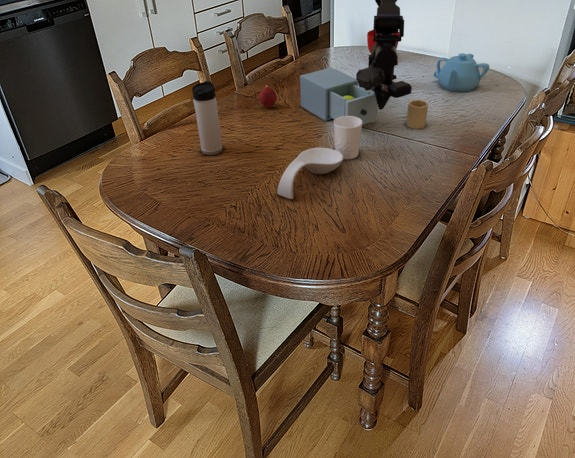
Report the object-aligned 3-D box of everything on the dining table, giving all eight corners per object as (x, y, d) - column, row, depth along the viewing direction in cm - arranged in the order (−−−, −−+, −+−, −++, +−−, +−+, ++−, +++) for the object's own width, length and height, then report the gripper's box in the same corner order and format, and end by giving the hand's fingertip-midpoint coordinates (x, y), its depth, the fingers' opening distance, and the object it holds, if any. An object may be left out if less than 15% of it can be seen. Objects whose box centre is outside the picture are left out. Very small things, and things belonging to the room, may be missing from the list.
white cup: (364, 150, 145) (366, 118, 139) (355, 162, 139) (357, 129, 133) (338, 145, 148) (339, 114, 141) (329, 157, 142) (329, 125, 136)
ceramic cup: (364, 66, 200) (366, 40, 194) (366, 52, 214) (367, 28, 208) (397, 66, 198) (400, 41, 192) (397, 53, 212) (399, 28, 206)
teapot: (492, 88, 177) (498, 57, 170) (449, 96, 173) (454, 64, 167) (467, 74, 189) (472, 44, 182) (426, 81, 185) (430, 51, 178)
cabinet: (356, 111, 166) (358, 79, 160) (325, 121, 161) (325, 88, 155) (331, 97, 177) (331, 67, 170) (300, 106, 172) (300, 75, 165)
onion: (277, 104, 174) (276, 82, 169) (276, 111, 169) (274, 88, 164) (261, 104, 174) (259, 82, 169) (259, 111, 170) (257, 88, 165)
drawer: (378, 121, 157) (380, 94, 152) (349, 131, 153) (350, 103, 147) (350, 106, 168) (351, 80, 162) (321, 114, 163) (321, 88, 158)
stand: (416, 119, 160) (418, 98, 156) (429, 125, 156) (432, 104, 152) (402, 123, 158) (404, 102, 153) (415, 130, 153) (418, 109, 149)
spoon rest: (314, 154, 144) (314, 131, 140) (350, 164, 138) (351, 141, 134) (266, 192, 128) (264, 168, 124) (305, 205, 123) (304, 180, 119)
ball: (347, 96, 161) (348, 88, 155) (361, 109, 160) (362, 101, 154) (333, 109, 161) (333, 102, 155) (347, 123, 160) (347, 116, 154)
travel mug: (226, 146, 150) (218, 81, 138) (217, 156, 145) (208, 90, 133) (208, 143, 152) (198, 79, 140) (198, 154, 147) (187, 88, 135)
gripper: (342, 55, 145) (341, 105, 155) (384, 73, 132) (380, 127, 142) (372, 47, 150) (369, 97, 159) (415, 64, 137) (409, 117, 146)
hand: (380, 109), depth 152 cm, fingers closed
